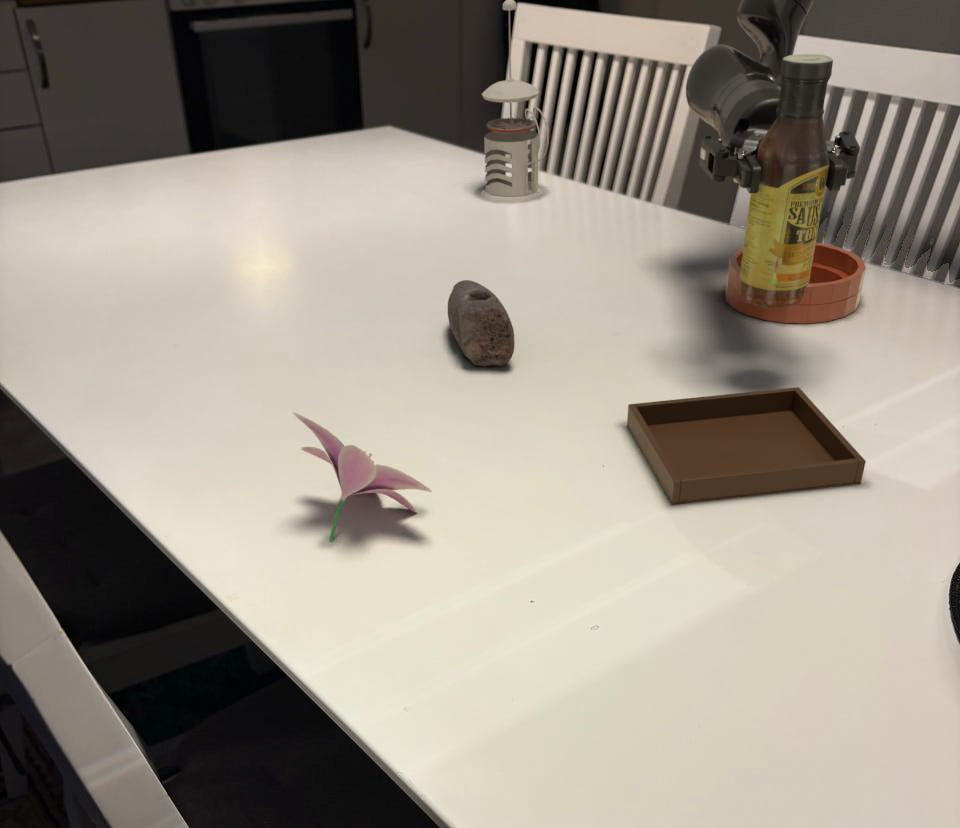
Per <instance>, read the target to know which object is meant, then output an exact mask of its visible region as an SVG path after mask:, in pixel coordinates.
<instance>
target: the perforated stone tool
mask: <svg viewBox="0 0 960 828" xmlns="http://www.w3.org/2000/svg"><path fill="white" fill-rule="evenodd" d="M447 318H448V323H449V327H450V329H451V333H452V334H453V337H454V338H455V340H456V342H457V344H458V346H459V348H460V350H461V351H462V353H463V355H464V356H465V357H466V358H467V359H468V360H470V362H471V363H472V364H473V365H474V366H476V367H477V366H479V367H482V368H485V367H491V366H493V367H496V366H497V367H499V366H503V365H506V364H507V363H508V362H509V361H511V359H512V357H513V355H514V352H515V344H516V343H515V330H514V327H513V324H512V321H511V318H510V316H509V313H508V312H507V310H506V307H504V304H503V303H502V302H501V300H500V299H499V297H497V295H496V294H494V292H492V290H490V289H489V288H487V287H486V286H484V285H483V284H480V283H479V282H475V281H473V280H470V279H469V280H468V279H464V280H460V281H458V282H456V283H455V284H454V285H453V287H452V289H451V292H450V294H449V297H448V299H447Z"/></svg>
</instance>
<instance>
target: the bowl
mask: <svg viewBox="0 0 960 828" xmlns="http://www.w3.org/2000/svg"><path fill="white" fill-rule="evenodd" d="M743 248H744V247H742V248H739V249H738V250H735V251H734V252H733V253H732V254H731V255H730V256H729V259H728V267H727V278H726V285H725V301H726V302H727V303H728V304H729V305H730V307H731V308H732V309H734V310H736V311H738V312H740V313H742V314H744V315H746V316H750V317H753V318H757V319H760V320H764V321H769V322H776V323H782V324H783V323H784V324H817V323H826V322H831V321H834V320H838V319H841V318H845V317H846V316H848V315H850V314H852V313H854V312H855V311H856V309H857V307H859V304H860V301H861V300H860V299H861V295H862V289H863V286H864V279H865V274H866V270H867V266H866V264H865V262H864V259H862V258H861V257H860V256H858V255H857V254H856V253H854V252H852V251H849V250H848V249H845V248H842V247H839V246H835V245H830V244H826V243H821V242H816V244H815V250H814V256H813V262H812V267H811V273H810V279H809V283H808V284H807V286H806V290H805V294H804V296H803V299H802V300H801V301H800V302H799V303H798V304H795V305H791V306H787V307H767V308H766V307H761V306H757V305H753V304H750V303H748V302H746V301H745V300H743V299H742V298H741V295H740V285H741V279H740V271H741V263H742V256H743Z"/></svg>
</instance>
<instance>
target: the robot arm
mask: <svg viewBox="0 0 960 828" xmlns="http://www.w3.org/2000/svg"><path fill="white" fill-rule="evenodd" d="M814 1H815V0H741V1H740V4H739V6H738V9H737V13H736V18H737V23H738V24H739V26H740V28H741V29H742V30H743V31H744V32H745V33H746V34H747V36H748V37H750V39H752V41H753V42H754V44H755V45H756V46H757V48H758V50H759V51H758V52H759V61H757V60H755V59H754V58H752V57H750V56H748V55H747V54H745V53H743V52H741V51H740V50H738V49H736V48H735V47H733V46H730V45H727V44H716V45H713V46H710V47H709V48H707V49H706V50H704V51H703V52H702V53H701V54H700V55H699V56H698V57H697V58H696V59H695V61H694V63H693V64H692V66H691V68H690V70H689V73H688V76H687V79H686V85H685V98H686V102H687V106H688V107H689V109H690V110H691V112H692V113H694V114H695V115H696V116H697V117H698V118H699V119H701V120H702V121H704V122H705V123H706V124H707V125H709V126H710V127H712V128H713V129H714V130H715V131H716V132H717V134H718V136H719V138H717V137H716V136H715V135H711V134H706V135H702V136H701V141H700V154H699V162H698V167H700V168H701V169H702V170H703V171H704V173H705V174H706V175H707V176H708V177H709V178H710V179H711V180H712V181H713V182H716V183H722V182H725V181H726V180H727V177H731V178H733V182H734V183H736V184H738V185H739V187H740V188H742V189H745V190H746V191H747V192H748V194H751V193H758V190H759V183H760V175H761V166H760V164H759V163H758V161H757V155H758V149H759V146H760V143H761V141H762V139H763V138H764V136H765V135H766V133H767V131H768V130H769V129H770V127H771V126H772V125H773V123H774V121H775V120H776V119H777V107H778V104H779V97H780V89H781V83H782V79H781V67H782V60H783V58H784V57H786V56H790V55H794V53H795V48H796V44H797V41H798V39H799V35H800V32H801V29H802V27H803V24H804V22H805V21H806V18H807V17H808V14H809V12H810V9H811V8H812V5H813V4H814ZM826 143H827V150H828V157H829V170H828V176H827V181H826V187H825V188H827V189H828V191H829V192H840V190H841V186H843V187H844V186H846V183H847V180H850V179H854V178H855V177H856V172H857V171H856V168H857V164H858V158H859V154H860V152H861V151H860V150H861V146H860V145H859V142H858V140H857V138H856V137H855V134H854V133H853V132H851V131H849V130H843V131H839V133H838V135H835V136H834V140H826Z"/></svg>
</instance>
